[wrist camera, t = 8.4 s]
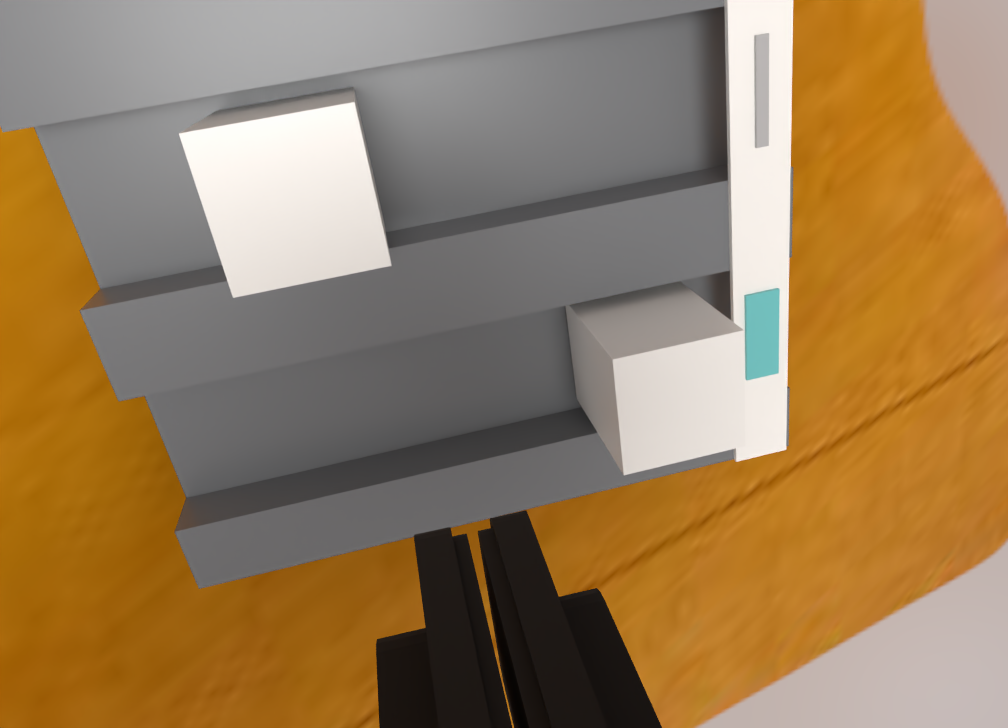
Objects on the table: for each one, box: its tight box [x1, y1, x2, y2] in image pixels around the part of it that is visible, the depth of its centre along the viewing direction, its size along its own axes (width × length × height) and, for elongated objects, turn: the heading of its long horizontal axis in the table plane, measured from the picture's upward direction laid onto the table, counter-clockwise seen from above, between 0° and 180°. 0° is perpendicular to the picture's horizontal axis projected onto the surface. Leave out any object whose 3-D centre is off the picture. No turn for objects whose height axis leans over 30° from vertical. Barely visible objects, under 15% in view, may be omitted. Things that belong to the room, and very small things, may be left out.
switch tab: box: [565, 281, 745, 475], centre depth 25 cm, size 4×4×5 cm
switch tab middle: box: [179, 87, 392, 298], centre depth 20 cm, size 4×4×5 cm
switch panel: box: [0, 0, 793, 589], centre depth 23 cm, size 26×22×4 cm
